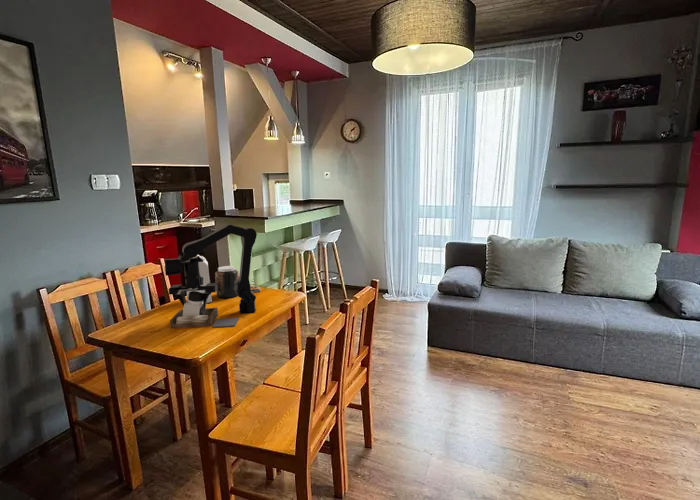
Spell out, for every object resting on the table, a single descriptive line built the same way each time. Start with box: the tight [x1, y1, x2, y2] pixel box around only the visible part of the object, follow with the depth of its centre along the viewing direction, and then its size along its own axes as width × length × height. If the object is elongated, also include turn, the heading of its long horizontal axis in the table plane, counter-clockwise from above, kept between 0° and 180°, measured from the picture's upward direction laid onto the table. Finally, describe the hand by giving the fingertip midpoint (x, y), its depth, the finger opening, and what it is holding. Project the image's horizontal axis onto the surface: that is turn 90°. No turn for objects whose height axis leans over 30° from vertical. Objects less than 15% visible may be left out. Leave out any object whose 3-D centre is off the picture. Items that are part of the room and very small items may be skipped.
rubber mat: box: [212, 317, 239, 329], centre depth 158 cm, size 9×9×1 cm
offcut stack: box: [176, 315, 209, 324], centre depth 156 cm, size 12×2×4 cm, turn 100°
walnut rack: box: [169, 307, 219, 329], centre depth 160 cm, size 16×13×4 cm
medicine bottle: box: [182, 291, 207, 317], centre depth 161 cm, size 7×7×12 cm
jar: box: [214, 265, 240, 299], centre depth 198 cm, size 12×12×15 cm
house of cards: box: [250, 278, 262, 294], centre depth 206 cm, size 9×9×8 cm
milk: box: [186, 254, 213, 304], centre depth 188 cm, size 12×12×26 cm
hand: (195, 307), depth 161 cm, fingers closed on medicine bottle, 7 cm apart
